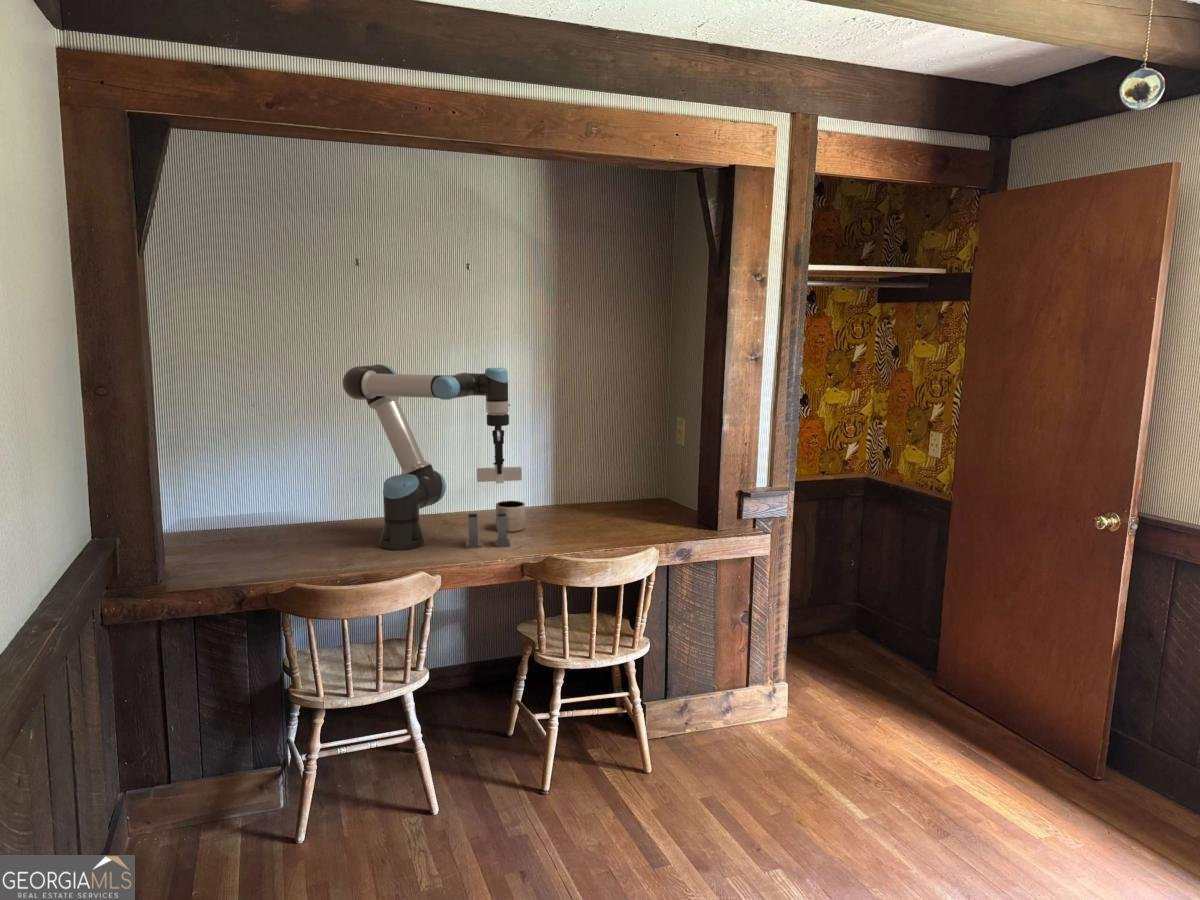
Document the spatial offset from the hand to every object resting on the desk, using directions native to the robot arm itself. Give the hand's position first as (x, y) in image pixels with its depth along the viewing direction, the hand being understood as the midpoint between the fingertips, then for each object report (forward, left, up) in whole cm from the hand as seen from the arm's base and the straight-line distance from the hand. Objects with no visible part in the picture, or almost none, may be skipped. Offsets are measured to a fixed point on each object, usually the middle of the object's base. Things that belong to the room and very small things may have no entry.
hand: (499, 481), depth 271 cm
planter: (+5, +20, -23) cm, 31 cm away
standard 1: (-9, 0, -22) cm, 24 cm away
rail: (0, 0, +1) cm, 1 cm away
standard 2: (+1, 0, -22) cm, 22 cm away
